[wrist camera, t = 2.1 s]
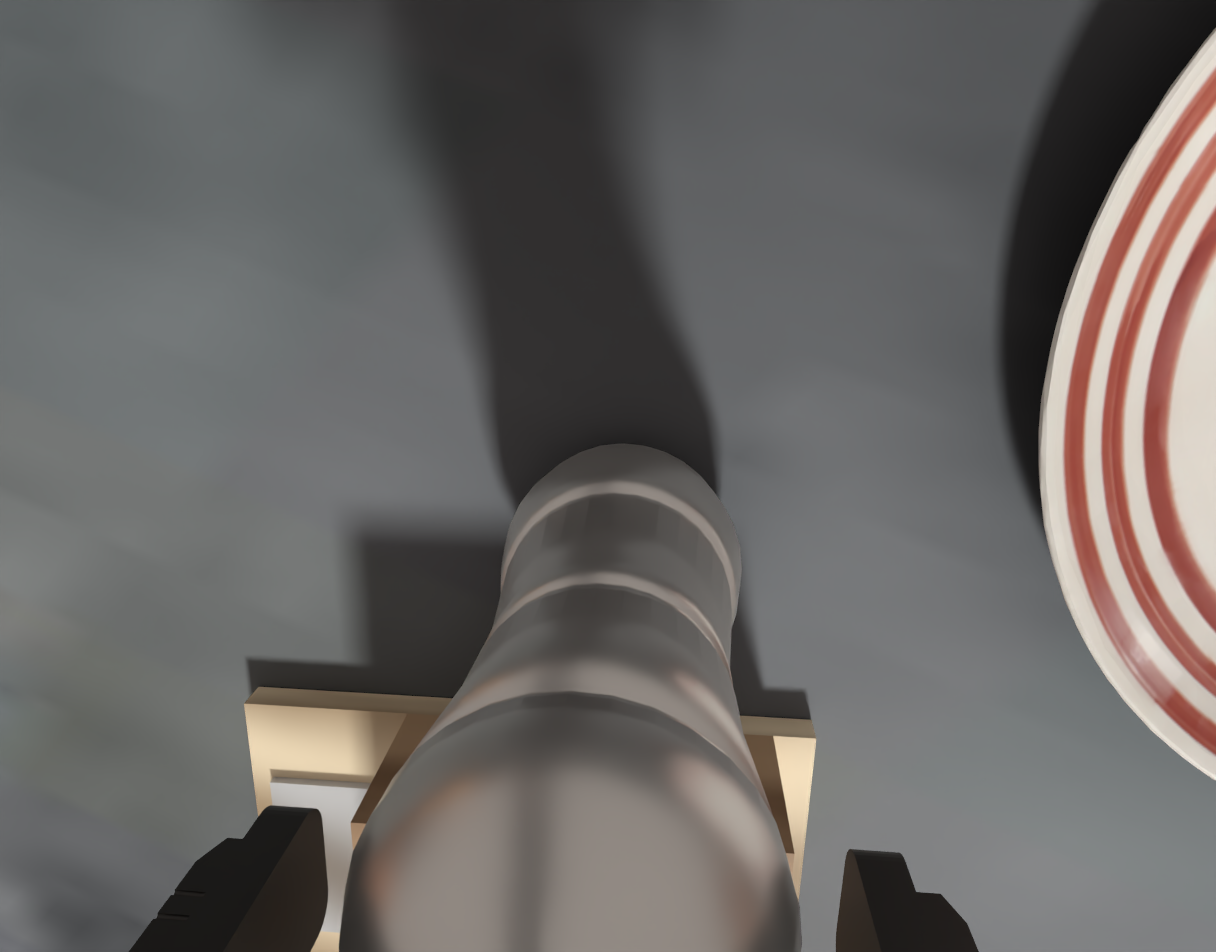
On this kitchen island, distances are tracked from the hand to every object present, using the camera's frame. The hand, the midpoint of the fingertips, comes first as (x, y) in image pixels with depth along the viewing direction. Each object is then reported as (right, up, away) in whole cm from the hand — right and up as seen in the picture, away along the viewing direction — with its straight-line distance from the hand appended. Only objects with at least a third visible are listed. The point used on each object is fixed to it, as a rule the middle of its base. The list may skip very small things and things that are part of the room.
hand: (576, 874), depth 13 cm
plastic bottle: (+1, +4, +13) cm, 14 cm away
